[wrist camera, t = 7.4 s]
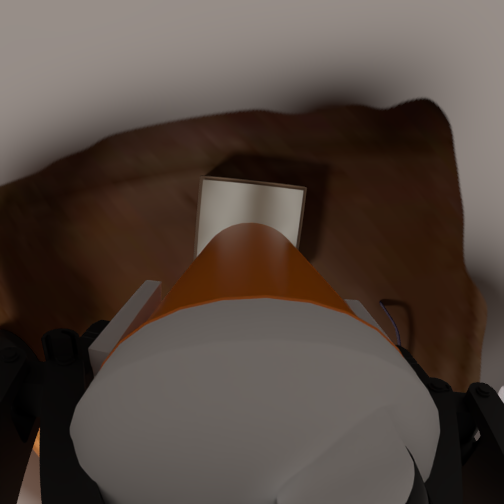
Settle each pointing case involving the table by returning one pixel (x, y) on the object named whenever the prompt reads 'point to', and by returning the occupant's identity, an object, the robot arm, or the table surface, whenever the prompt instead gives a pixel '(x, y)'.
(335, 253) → the table surface
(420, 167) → the table surface
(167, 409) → the shaker bottle
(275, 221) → the block
